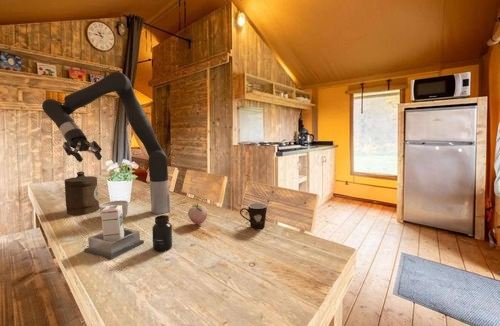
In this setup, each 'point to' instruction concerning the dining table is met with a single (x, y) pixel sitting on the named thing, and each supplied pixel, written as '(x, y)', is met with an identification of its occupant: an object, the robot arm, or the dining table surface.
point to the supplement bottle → (162, 234)
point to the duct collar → (113, 244)
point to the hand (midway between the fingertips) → (91, 159)
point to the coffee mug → (256, 215)
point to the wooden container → (81, 194)
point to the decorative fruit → (197, 214)
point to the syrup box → (112, 223)
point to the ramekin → (123, 203)
